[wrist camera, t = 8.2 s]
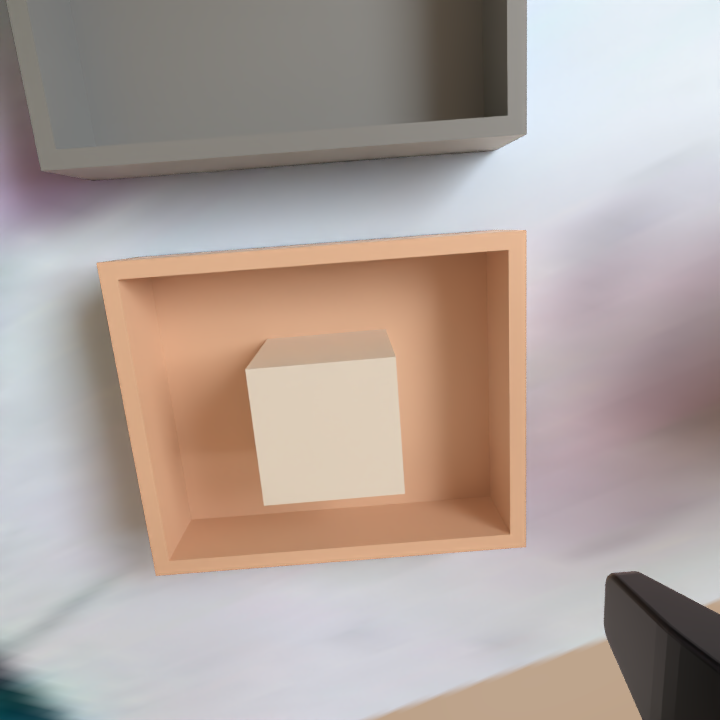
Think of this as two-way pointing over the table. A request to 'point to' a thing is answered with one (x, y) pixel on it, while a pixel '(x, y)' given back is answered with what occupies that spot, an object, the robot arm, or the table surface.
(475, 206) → the table surface
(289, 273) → the bin
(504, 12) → the bin
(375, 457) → the beige cube
